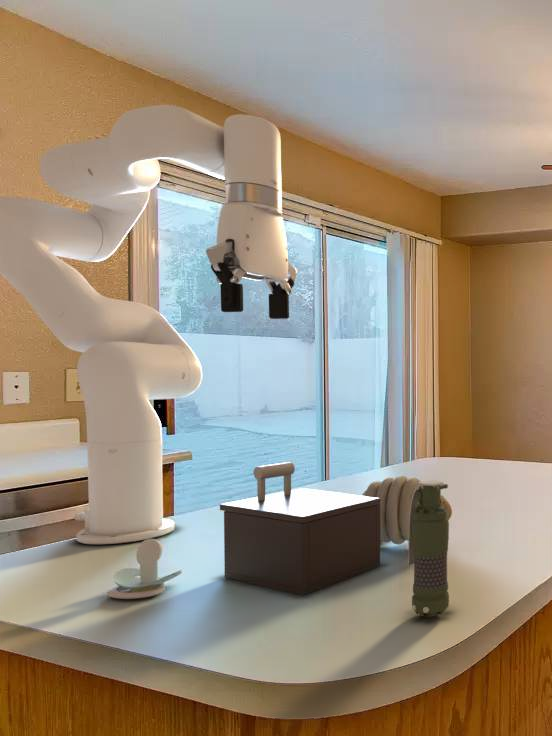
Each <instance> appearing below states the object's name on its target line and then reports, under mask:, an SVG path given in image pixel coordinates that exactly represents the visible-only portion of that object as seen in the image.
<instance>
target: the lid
mask: <svg viewBox="0 0 552 736" xmlns="http://www.w3.org/2000/svg"><path fill="white" fill-rule="evenodd" d="M295 469H296V467H295V465H294V463H293V462H291V461H288V462H281V463H274V464H266V465H259V466H255V467H254V468H253V477H254V479H256V484H257V485H256V486H257V487H256V489H257V490H256V491H257V496H256V497H255V496H254V497H250V498H246V499H244V498H243V499H241V500H240V499H239V500H235V501H230V502H225V503H220V504H219V511H223V512H224V511H229V512H235V513H241V514H248V515H254V516H260V517H267V518H273V519H279V520H285V521H292V522H298V523H306V522H310V521H314V520H318V519H322V518H325V517H329V516H333V515H337V514H341V513H345V512H349V511H353V510H357V509H361V508H365V507H369V506H373V505H377V504H380V498H376V497H368V496H361V495H359V494H351V493H343V492H335V491H327V490H321V489H319V490H318V489H312V488H303V487H302V488H297V489H292V475H293V474H294V473H295V471H296V470H295ZM278 477H283V491H281V492H276V493H271V494H270V493H269V494H266V480H268V479H272V478H278Z"/></svg>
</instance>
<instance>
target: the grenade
mask: <svg viewBox="0 0 552 736" xmlns="http://www.w3.org/2000/svg"><path fill="white" fill-rule="evenodd" d="M423 481H424V482H421V481H420V482H419V483H417V484H416V486H415V489H414V493H413V496H412V500H411V505H410V513H409V541H408V566H411V565H413V585H412V593H413V594H412V596H411V609H412V610H413V612H415V614H416V615H419V616H421V617H425V618H434V617H436V616H438V615H442V614H443V613H444V612H445V611H446V610H447V609H448V608H449V605H450V594H449V592H448V590H449V581H448V551H449V539H450V522H449V520H448V518H447V512H448V510H447V509H446V508H441V507H445V506H441V499H440V497H441V495H442V492H441V491H442V490H445V489H448V488H449V484H448V483H444V482H443V481H441V480H423Z"/></svg>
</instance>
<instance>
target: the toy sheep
mask: <svg viewBox="0 0 552 736" xmlns="http://www.w3.org/2000/svg"><path fill="white" fill-rule="evenodd" d="M424 481H425V480H420V479H419V478H418V477H415V476H413V477H410V478H408V477H407V476H405V475H398V476H396V477H395V478H394V477H390V476H389V477H385V478H384V479H383V480H382V481H379V480H375V481H372V482H370V484H368V486H367V488H366V490H364V491H363V492H362V494H361V495H360V496H368V497H376V498H380V544H382V543H390V542H392V543H393V544H395V545H402V544H404V543H405V542H406V541H407V542H409V513H410V505H411V500H412V496H413V493H414V489H415V486H416V484H417V483H419V482H424ZM440 499H441V506H445V507H441V508H446V509H447V510H448V512H447V518H448V521H449V520H450V519H451V518H452V515H453V509H452V507H451V504H450V502H449V501H448V500H447V499H446V498H445V497H444V496H443V495H442V494H441V497H440Z"/></svg>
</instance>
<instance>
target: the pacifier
mask: <svg viewBox="0 0 552 736" xmlns="http://www.w3.org/2000/svg"><path fill="white" fill-rule="evenodd" d="M162 554H163V546H162V543H161V542H160V541H158V540H157V539H155V538H149V539H144V540H142V542H140V544H139V545H138V547H137V549H136V554H135V558H136V562H137V564H139V568H134V567H128V568H122V569H120V570H118V571H116V573H115V574H114V575H113V582H114V583H115V585H117V586H114V587H112V588H110V589H108V590H107V591H106V595H107V596H109V598H112V599H113V598H114V599H120V600H121V599H122V600H133V599H143V598H149V597H153V596H156V595H159V594H161V593H163V592H165V590H166V588H165V583H166V582H168V581H170V580H172V579H174V578H176V577H178V576H179V575H181V574H182V569H181V570H178V571H176V572H173V573H170V574H168V575H163V576H160V577H159V567H158V566H159V565H158V561H159V560H160V559H161V557H162ZM128 590H130V592H124V591H128Z"/></svg>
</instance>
